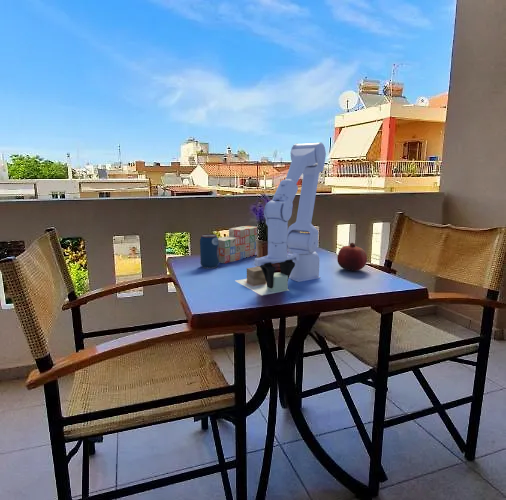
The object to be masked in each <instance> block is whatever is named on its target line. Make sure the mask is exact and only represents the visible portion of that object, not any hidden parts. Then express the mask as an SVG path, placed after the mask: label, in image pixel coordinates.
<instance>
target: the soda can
mask: <svg viewBox="0 0 506 500" xmlns="http://www.w3.org/2000/svg"><path fill="white" fill-rule="evenodd" d="M218 238H219V237H218V235H217V234H216V233H215V234H214V233H206V234H201V237H200V239H199V255H200V256H199V257H200V259H199V260H200V265H201V266H202V268H204V269H215V268H217V267H218V266H219V264H220V262H219V242H218Z"/></svg>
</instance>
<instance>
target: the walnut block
mask: <svg viewBox="0 0 506 500" xmlns="http://www.w3.org/2000/svg"><path fill="white" fill-rule="evenodd" d="M246 279H247V282H248V283H250V284H252V285H259V284H265V283H266V279H265V276H264V273H263V271H262V269H261V268H260V266H253V267H247V268H246Z"/></svg>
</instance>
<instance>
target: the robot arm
mask: <svg viewBox="0 0 506 500" xmlns="http://www.w3.org/2000/svg"><path fill="white" fill-rule="evenodd" d="M326 155H327V153H326V148H325V145H324V143H323V142H320V141H319V142H313V143H312V142H310V143H309V142H308V143H307V142H306V143H294V144H292V146H291V149H290V160H291V162H290V164H289V165H290V166H289V168H288V171H287V175H286V177H285V179H282V180H281V181H280V182H279V183H278V186H277V188H276V190H275V193H274V194H273V197H272V199H271V200H270V201H268V202H267V203H265V206H264V210H263V217H264V218H265V224H266V226H267V255H265V256H261V257H256V258H254V266H255V267H260V268H261V269H262V271H263V273H264V276H265V279H266V283H267V287H269V288H273V277H274V273H275V271H276V267H275V266H273V264H279V268H280V273H283V274H285V275H287V276H288V280H289V279H290V280H292V281H295V282H297V283H299V282H305V281H311V280H315V279H321V276H320V256H319V254H318V252H317V251H316V250H317V249H318V246H319V230H318V229H317V228H316V227H315V226H314V224H312V219H313V215H314V208H315V202H316V197H317V196H316V195H317V189H318V184H319V176H320V173H322V172H323V171H324V168H325V163H326V157H327V156H326ZM302 175H303V176H302ZM301 176H302V183H301V188H300V189H301V190H300V194H299V202H298V206H297V207H298V208H297V214H296V220H295V222H293V223H292V224H291V225H288V224H289V220H290V219H291V217H292V214H293V207H294V206H293V205H294V204H293V203H294V202H293V201H294V199H295V197H296V195H297V193H298V190H299V187H298V181H299V180H300V178H301Z"/></svg>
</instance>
